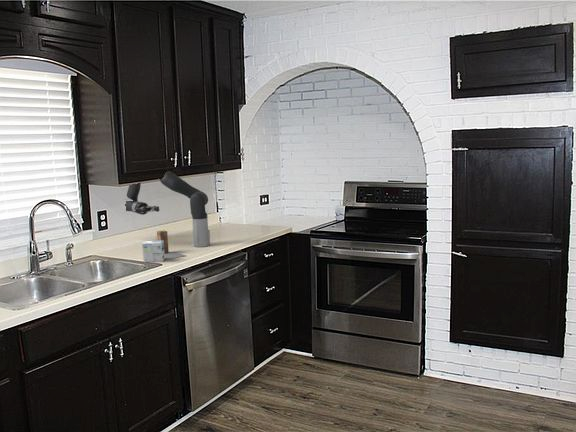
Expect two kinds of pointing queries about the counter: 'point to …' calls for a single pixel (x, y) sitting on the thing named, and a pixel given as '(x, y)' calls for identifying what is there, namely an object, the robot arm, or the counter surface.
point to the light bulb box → (153, 251)
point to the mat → (173, 255)
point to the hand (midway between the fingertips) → (152, 210)
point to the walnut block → (163, 239)
